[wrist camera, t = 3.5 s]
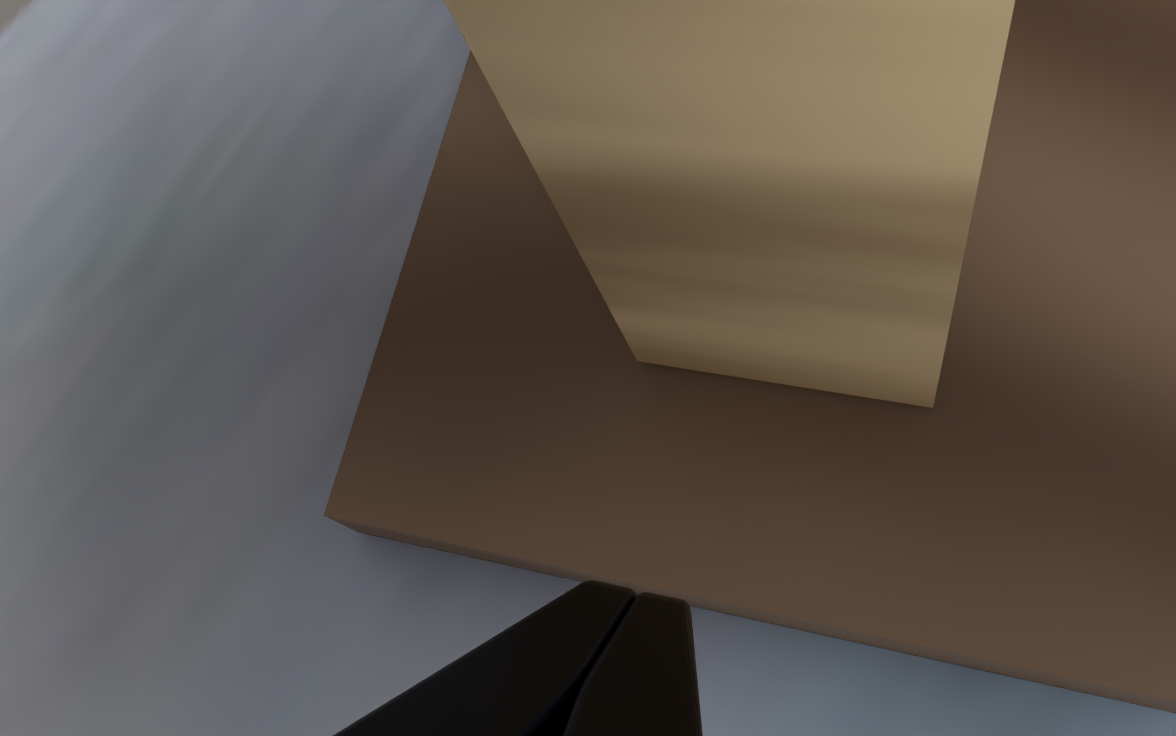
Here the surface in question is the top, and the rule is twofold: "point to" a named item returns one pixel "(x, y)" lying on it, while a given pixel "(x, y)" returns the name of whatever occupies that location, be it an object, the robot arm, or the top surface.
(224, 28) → the top surface
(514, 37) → the pale yellow box
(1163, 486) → the walnut sill
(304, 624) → the top surface
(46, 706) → the top surface
